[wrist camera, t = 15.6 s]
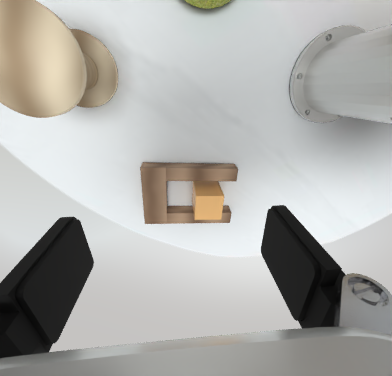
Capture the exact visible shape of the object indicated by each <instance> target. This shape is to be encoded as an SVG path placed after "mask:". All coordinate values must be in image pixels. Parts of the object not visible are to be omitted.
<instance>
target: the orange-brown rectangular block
mask: <svg viewBox="0 0 392 376" xmlns="http://www.w3.org/2000/svg"><path fill="white" fill-rule="evenodd" d="M223 202H224V194H223V192H222V190H221V188H220V185H219V183H218V181H193V194H192V204H193V212H194V219H195V220H221V218H222V210H223Z"/></svg>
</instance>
